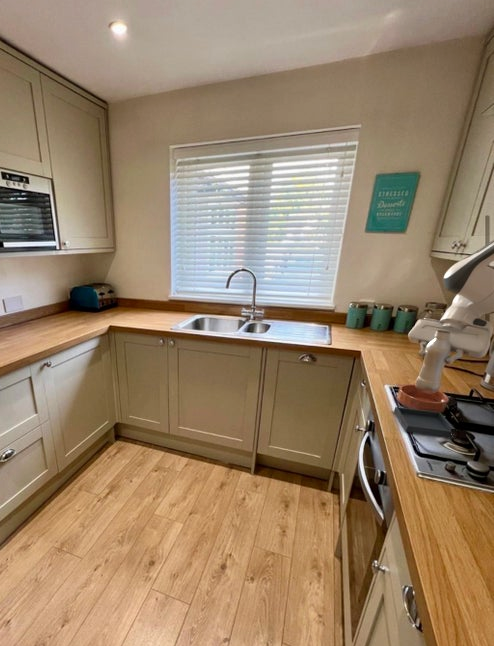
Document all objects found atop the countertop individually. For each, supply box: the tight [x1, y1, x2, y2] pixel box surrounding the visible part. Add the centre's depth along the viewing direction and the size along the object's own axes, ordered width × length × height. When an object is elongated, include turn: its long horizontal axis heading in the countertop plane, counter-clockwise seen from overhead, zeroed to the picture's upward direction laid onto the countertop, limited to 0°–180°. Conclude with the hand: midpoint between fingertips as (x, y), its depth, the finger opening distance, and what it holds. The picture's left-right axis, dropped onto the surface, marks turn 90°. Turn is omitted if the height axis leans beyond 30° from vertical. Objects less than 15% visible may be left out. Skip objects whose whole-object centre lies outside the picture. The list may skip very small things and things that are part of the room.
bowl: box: [396, 383, 450, 414], centre depth 107 cm, size 13×13×4 cm
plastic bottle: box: [414, 330, 452, 394], centre depth 102 cm, size 6×7×20 cm
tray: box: [393, 406, 456, 439], centre depth 96 cm, size 12×11×2 cm
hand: (434, 359), depth 102 cm, fingers closed on plastic bottle, 6 cm apart
